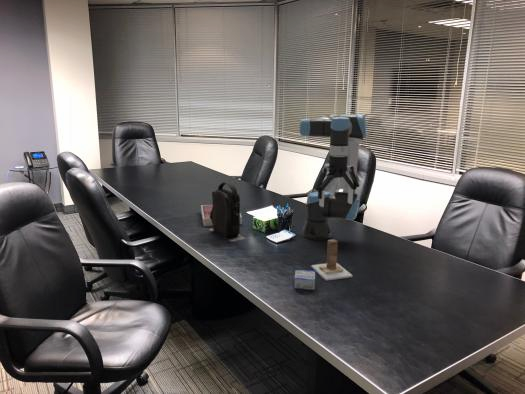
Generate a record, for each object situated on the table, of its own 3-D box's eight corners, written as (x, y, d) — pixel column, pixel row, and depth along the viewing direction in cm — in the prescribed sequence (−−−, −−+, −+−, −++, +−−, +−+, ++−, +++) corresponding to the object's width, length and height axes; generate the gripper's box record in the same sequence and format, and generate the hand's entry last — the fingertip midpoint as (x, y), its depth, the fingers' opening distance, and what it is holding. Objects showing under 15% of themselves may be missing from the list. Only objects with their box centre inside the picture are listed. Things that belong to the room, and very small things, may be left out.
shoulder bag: (246, 238, 213) (246, 185, 206) (231, 241, 208) (231, 187, 201) (223, 227, 231) (222, 177, 224) (208, 230, 225) (207, 179, 218)
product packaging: (235, 211, 262) (235, 204, 261) (241, 225, 236) (241, 216, 234) (201, 213, 258) (201, 205, 257) (203, 227, 231) (203, 218, 230)
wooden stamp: (319, 268, 176) (320, 239, 173) (335, 266, 178) (337, 237, 175) (326, 274, 170) (327, 244, 167) (343, 271, 173) (345, 242, 170)
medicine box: (315, 270, 165) (315, 279, 156) (314, 280, 166) (314, 290, 157) (295, 269, 166) (294, 278, 157) (295, 279, 167) (293, 289, 158)
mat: (311, 267, 179) (311, 265, 179) (336, 263, 183) (336, 262, 182) (325, 280, 166) (326, 278, 166) (352, 277, 170) (352, 275, 169)
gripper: (314, 158, 163) (312, 209, 169) (369, 155, 171) (366, 204, 176) (307, 155, 170) (305, 204, 176) (360, 152, 177) (357, 199, 183)
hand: (335, 204), depth 176 cm, fingers open, 13 cm apart
